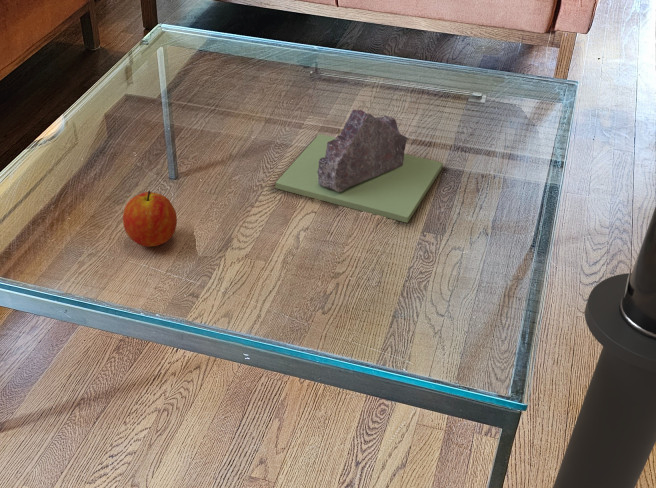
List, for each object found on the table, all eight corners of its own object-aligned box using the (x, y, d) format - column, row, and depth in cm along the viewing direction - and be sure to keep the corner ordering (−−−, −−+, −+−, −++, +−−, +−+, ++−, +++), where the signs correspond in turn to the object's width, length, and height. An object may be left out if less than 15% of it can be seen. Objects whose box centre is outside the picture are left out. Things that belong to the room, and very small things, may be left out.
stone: (390, 85, 121) (313, 113, 114) (421, 102, 118) (344, 133, 111) (379, 148, 128) (306, 178, 121) (408, 166, 125) (335, 199, 117)
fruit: (115, 243, 111) (107, 192, 106) (152, 220, 115) (147, 170, 110) (151, 264, 108) (146, 212, 102) (189, 239, 112) (185, 188, 106)
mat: (442, 168, 125) (443, 162, 125) (407, 223, 114) (408, 217, 114) (319, 139, 132) (319, 133, 132) (275, 188, 121) (275, 182, 121)
